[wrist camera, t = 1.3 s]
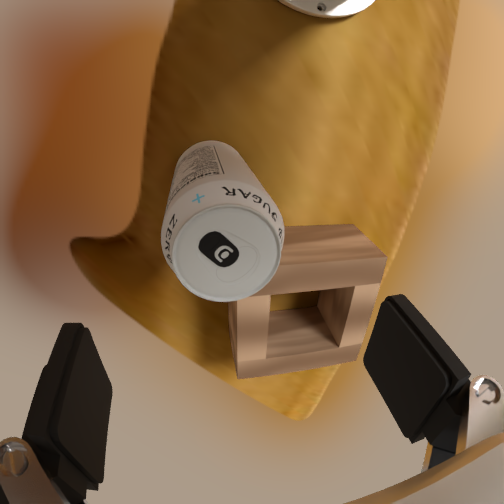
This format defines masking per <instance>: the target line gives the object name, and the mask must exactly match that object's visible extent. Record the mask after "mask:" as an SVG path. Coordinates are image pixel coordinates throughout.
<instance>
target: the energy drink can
mask: <svg viewBox="0 0 504 504" xmlns="http://www.w3.org/2000/svg"><path fill="white" fill-rule="evenodd" d="M283 242H284V224H283V219H282V216H281V214H280V211H279V209H278V207H277V206H276V204H275V203H274V201H273V200H272V198H271V197H270V196H269V194H268V193H267V191H266V190H265V189H264V187H263V186H262V184H261V183H260V182H259V180H258V179H257V178H256V176H255V175H254V173H253V172H252V171H251V169H250V168H249V167H248V165H247V164H246V162H245V161H244V160H243V158H242V157H241V156H240V154H239V153H238V152H237V151H236V150H235V149H234V148H233V147H231V146H230V145H228V144H226V143H223V142H220V141H212V140H210V141H203V142H199V143H196V144H195V145H193V146H191V147H189V148H188V149H187V150H186V151H185V152H184V153H183V154H182V155H181V157H180V158H179V160H178V162H177V165H176V168H175V172H174V176H173V180H172V184H171V189H170V193H169V197H168V202H167V206H166V211H165V215H164V220H163V225H162V230H161V245H162V250H163V254H164V256H165V259H166V261H167V263H168V265H169V266H170V267H171V269H172V270H173V272H174V273H175V274H176V276H177V278H178V279H179V281H180V282H181V283H182V285H183V286H184V287H185V288H187V289H188V290H189V291H190V292H192V293H193V294H195V295H197V296H198V297H201V298H204V299H206V300H210V301H216V302H230V301H237V300H241V299H244V298H247V297H249V296H251V295H253V294H255V293H256V292H258V291H259V290H261V289H262V288H263V287H264V286H265V285H266V284H267V283H268V282H269V281H270V280H271V279H272V277H273V276H274V274H275V273H276V271H277V268H278V266H279V263H280V259H281V251H282V247H283Z"/></svg>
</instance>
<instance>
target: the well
mask: <svg viewBox="0 0 504 504" xmlns="http://www.w3.org/2000/svg"><path fill="white" fill-rule="evenodd" d="M386 261H387V256H386V255H385V254H384V253H383V252H382V251H381V250H380V249H379V248H378V247H377V246H376V245H375V244H374V243H373V242H372V241H370V240H369V239H368V238H367V237H366V236H365V235H364V234H363V233H362V232H361V231H360V230H359V229H358V228H357V227H356V226H355V225H353V224H344V225H315V226H290V227H284V242H283V247H282V251H281V259H280V263H279V266H278V268H277V271H276V273H275V274H274V276H273V277H272V279H271V280H270V281H269V282H268V283H267V284H266V285H265V286H264V287H263V288H262V289H261V290H259V291H258V292H256V293H255V294H253V295H251V296H249V297H247V298H244V299H241V300H237V301H230V302H228V307H229V335H230V340H231V346H232V351H233V357H234V362H235V368H236V373H237V378H238V379H244V378H253V377H261V376H269V375H276V374H283V373H290V372H297V371H303V370H309V369H315V368H320V367H326V366H331V365H336V364H341V363H346V362H351V361H355V360H356V359H357V356H358V353H359V351H360V348H361V345H362V342H363V339H364V336H365V333H366V330H367V327H368V324H369V320H370V317H371V314H372V311H373V308H374V304H375V301H376V298H377V294H378V291H379V287H380V283H381V280H382V276H383V272H384V268H385V265H386ZM316 290H320V292H319V298H318V303H317V306H315V307H307V308H298V309H289V310H279V311H270V298H271V295H275V294H286V293H296V292H306V291H316ZM269 311H270V312H269Z"/></svg>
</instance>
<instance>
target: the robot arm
mask: <svg viewBox="0 0 504 504" xmlns="http://www.w3.org/2000/svg"><path fill="white" fill-rule="evenodd" d="M278 1H280V2H281V3H282V4H284V5H286V6H288V7H290V8H292V9H294V10H296V11H299V12H302V13H304V14H307V15H311V16H316V17H321V18H340V17H347V16H350V15H353V14H356V13H358V12H361V11H363V10H365V9H366V8H367V7H369V6H370V5H372V3H373V2H374V1H375V0H278ZM317 7H319V8H320V11H319V10H318V9H317ZM363 361H364V365H365V368H366V369H367V371H368V373H369V375H370V376H371V378H372V380H373V381H374V383H375V385H376V387H377V388H378V390H379V392H380V394H381V395H382V397H383V399H384V401H385V403H386V404H387V406H388V408H389V410H390V412H391V413H392V415H393V417H394V419H395V421H396V422H397V424H398V426H399V428H400V429H401V432H402V433H403V435H404V436H405V437H406V438H409V440H410V441H411V443H412V444H413V443H415V442H417V441H419V440H422V439H424V437H426V439H427V440H428V445H427V450H426V454H425V458H424V463H423V467H422V471H421V473H420V474H418V475H416V476H414V477H412V478H410V479H408V480H405V481H403V482H401V483H398V484H396V485H394V486H391V487H389V488H386V489H384V490H381V491H379V492H376V493H373V494H371V495H368V496H365V497H362V498H360V499H357V500H354V501H351V502H348V503H344V504H504V391H503V388H502V386H501V385H500V384H499V383H498V381H497V380H495V379H494V378H492V377H490V376H487V375H479V376H476V377H475V378H473V380H472V381H471V382H470V380H469V377H470V375H471V373H470V372H469V371H468V369H467V368H466V367H465V366H464V364H463V363H462V362H461V361H460V359H459V358H458V357H457V356H456V354H455V353H454V352H453V351H452V350H451V348H450V347H449V346H448V345H447V344H446V342H445V341H444V340H443V339H442V338H441V336H440V335H439V334H438V333H437V332H436V331H435V329H434V328H433V327H432V326H431V325H430V324H429V322H428V321H427V320H426V319H425V318H424V317H423V316H422V314H421V313H420V312H419V311H418V310H417V309H416V308H415V307H414V305H413V304H412V303H411V302H410V301H409V300H408V299H407V298H406V296H404V295H403V294H399V295H393V296H388V297H386V299H385V301H384V302H382V303H381V306H380V309H379V312H378V316H377V319H376V322H375V325H374V328H373V331H372V334H371V337H370V340H369V343H368V346H367V349H366V352H365V354H364V358H363ZM111 399H112V386H111V382H110V380H109V378H108V376H107V373H106V371H105V369H104V366H103V364H102V361H101V359H100V356H99V354H98V351H97V349H96V346H95V344H94V341H93V339H92V336H91V333H90V331H89V329H88V328H84V326H83V324H82V323H64V324H63V325H62V328H61V330H60V333H59V335H58V338H57V340H56V342H55V345H54V348H53V350H52V353H51V356H50V358H49V361H48V364H47V365H46V366H45V367H44V368H43V370H42V373H41V376H40V379H39V382H38V385H37V387H36V390H35V394H34V397H33V400H32V403H31V407H30V410H29V413H28V417H27V420H26V424H25V428H24V431H23V435H22V439H21V438H18V437H9V438H6V439H4V440H2V441H1V442H0V504H88V502H87V501H86V490H87V489H89V490H97V491H98V484H99V483H102V482H103V479H104V465H105V452H106V442H107V431H108V423H109V415H110V407H111Z"/></svg>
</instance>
